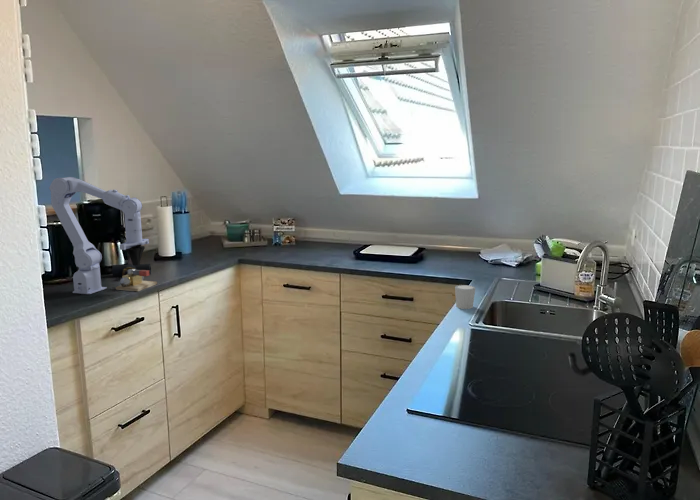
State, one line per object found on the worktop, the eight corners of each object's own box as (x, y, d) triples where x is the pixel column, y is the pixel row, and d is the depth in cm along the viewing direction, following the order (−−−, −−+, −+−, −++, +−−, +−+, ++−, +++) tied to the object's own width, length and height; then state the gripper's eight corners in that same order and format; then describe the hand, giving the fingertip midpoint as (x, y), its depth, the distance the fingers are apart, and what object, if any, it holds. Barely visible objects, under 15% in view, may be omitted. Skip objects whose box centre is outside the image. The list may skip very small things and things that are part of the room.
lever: (126, 275, 214) (126, 270, 214) (131, 273, 217) (130, 268, 216) (145, 276, 211) (145, 271, 211) (150, 275, 214) (149, 270, 214)
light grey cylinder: (450, 305, 188) (450, 286, 187) (465, 302, 192) (465, 283, 190) (463, 310, 182) (464, 290, 181) (478, 307, 186) (479, 287, 185)
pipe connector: (147, 267, 227) (108, 269, 224) (147, 279, 228) (109, 281, 225) (150, 262, 238) (114, 264, 235) (151, 274, 239) (114, 276, 236)
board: (137, 291, 208) (137, 288, 208) (115, 289, 211) (115, 287, 211) (157, 284, 219) (157, 281, 219) (136, 282, 222) (136, 280, 222)
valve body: (129, 287, 210) (128, 278, 209) (118, 286, 212) (118, 277, 211) (145, 281, 220) (145, 272, 219) (135, 281, 221) (135, 271, 220)
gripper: (129, 233, 198) (132, 269, 200) (154, 228, 211) (156, 262, 214) (113, 232, 200) (116, 268, 202) (139, 227, 213) (141, 261, 216)
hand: (136, 265), depth 208 cm, fingers closed
